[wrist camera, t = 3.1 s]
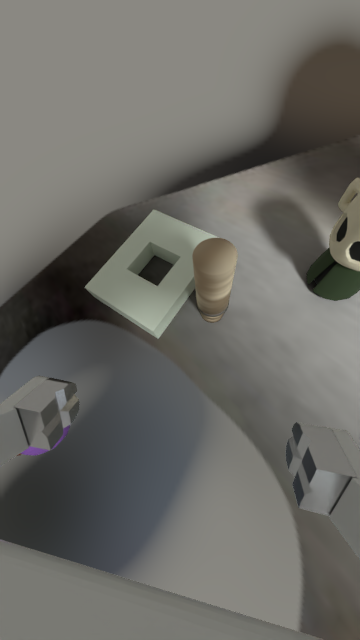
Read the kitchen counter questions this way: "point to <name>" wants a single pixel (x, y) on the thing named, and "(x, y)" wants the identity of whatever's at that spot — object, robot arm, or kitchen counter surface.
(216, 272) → the beech peg
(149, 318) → the sage board
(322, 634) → the kitchen counter surface
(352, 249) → the character mug
